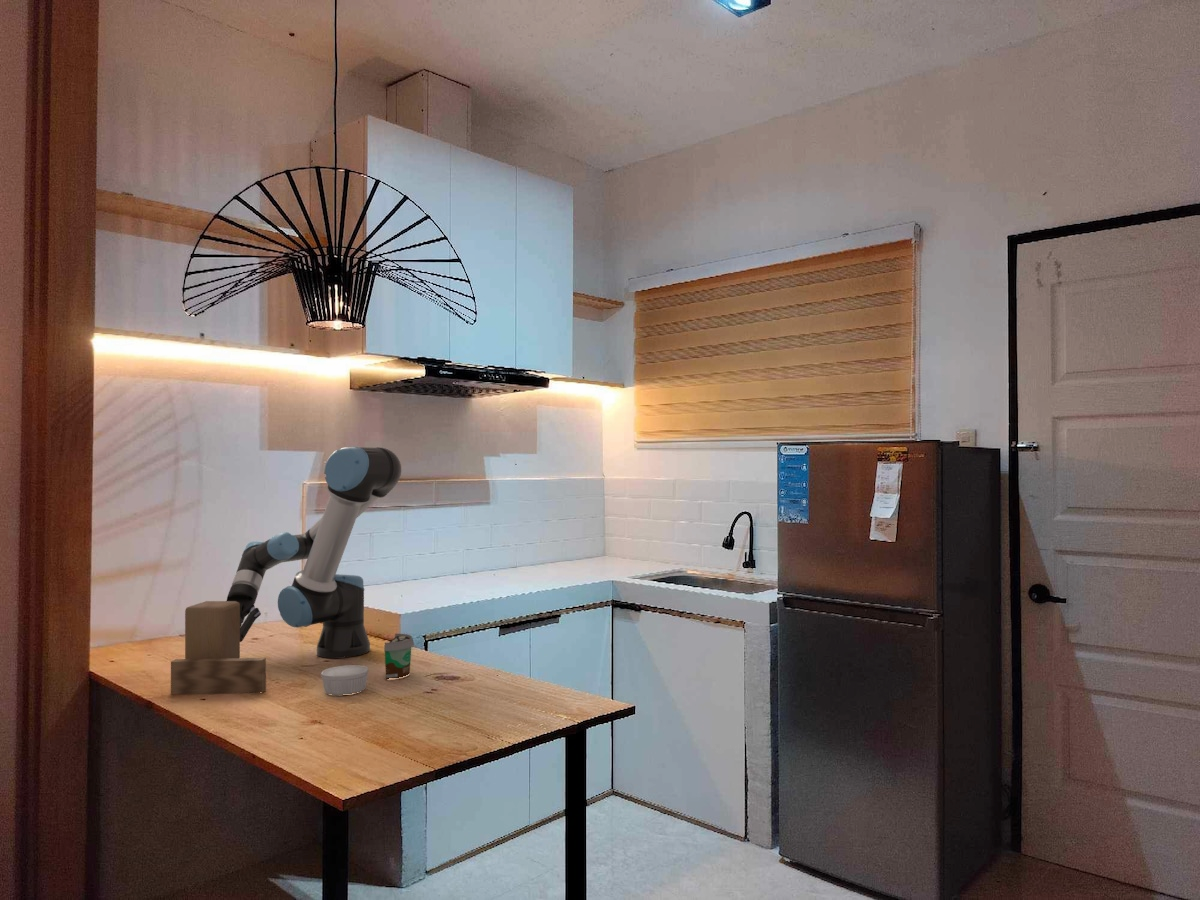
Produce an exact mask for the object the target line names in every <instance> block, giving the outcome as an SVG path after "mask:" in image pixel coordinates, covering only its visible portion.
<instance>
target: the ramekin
mask: <svg viewBox="0 0 1200 900" xmlns="http://www.w3.org/2000/svg"><path fill="white" fill-rule="evenodd" d="M369 672H370V669H369V667H367V666H365V665H361V664H360V665H359V664H353V665H352V664H348V665H346V664H345V665H338V666H332V667H329V668H326V669H324V670H322V671H320V678H321V679H322V685H323V690H324V692H325V694H326V695H328V694H332V695H343V694H352V693H357V692H360V691H362V690H363V691H364V690H365V689H366V687H367V681H368V674H370V673H369ZM363 691H362V692H363Z"/></svg>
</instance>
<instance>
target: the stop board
mask: <svg viewBox="0 0 1200 900" xmlns="http://www.w3.org/2000/svg"><path fill="white" fill-rule="evenodd" d="M265 690H267V657H244V658H243V657H241V658H226V659H185V658H177V659H174V660H172V661H170V695H171V694H178V695H218V694H219V695H220V694H221V695H222V694H223V695H224V694H225V695H226V694H227V695H228V694H229V695H230V694H231V695H232V694H237V695H238V693H239V694H261V693H260V692H263V691H264V692H266V691H265ZM264 692H263V693H264Z"/></svg>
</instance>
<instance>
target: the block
mask: <svg viewBox="0 0 1200 900" xmlns="http://www.w3.org/2000/svg"><path fill="white" fill-rule="evenodd" d="M184 633H185V634H184V635H185V636H184V637H185V639H184V651H185V652H184V654H185V655H184V659H226V658H240V657H241V654H240V652H241V646H240V645H241V644H240V643H241V642H240V604H239V602H236V601H227V600H211V601H210V600H206V601H202V602H199V603H196V604H194V605H190V606H187V607H186V608H185V610H184Z"/></svg>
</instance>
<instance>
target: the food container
mask: <svg viewBox="0 0 1200 900" xmlns="http://www.w3.org/2000/svg"><path fill="white" fill-rule="evenodd" d="M412 637H413V636H412V635H411V634H408V633H395V634H394V638H393V639H392V638H391V639H390V640H389V642H384V647H383V648H384V649H383V650H384V663H385V664H384V666H385V680H386V679H389V678H399V677H403V676H406V675H408V674H409V673H410V672H411V662H412V661H411V658H412V648H413V646H414V645H415V642H414V639H413V638H412Z"/></svg>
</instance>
